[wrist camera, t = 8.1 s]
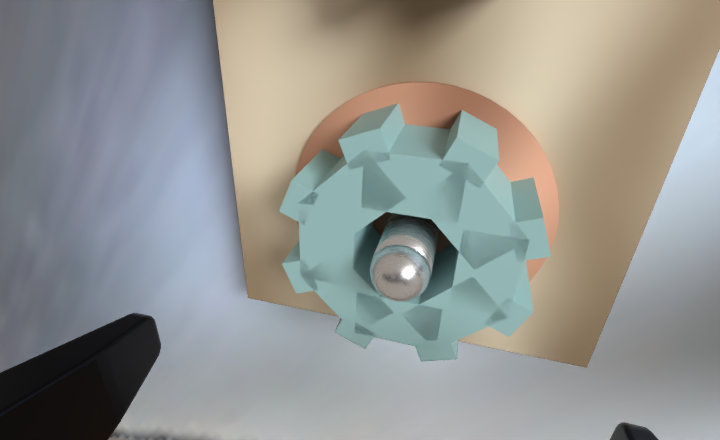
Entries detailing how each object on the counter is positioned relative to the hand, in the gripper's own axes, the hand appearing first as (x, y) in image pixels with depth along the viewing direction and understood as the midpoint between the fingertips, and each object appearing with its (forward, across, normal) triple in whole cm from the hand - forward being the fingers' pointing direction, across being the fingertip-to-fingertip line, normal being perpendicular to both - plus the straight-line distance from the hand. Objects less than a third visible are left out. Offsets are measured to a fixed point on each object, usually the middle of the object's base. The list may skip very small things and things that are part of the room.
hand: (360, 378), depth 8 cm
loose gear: (+7, 0, 0) cm, 7 cm away
